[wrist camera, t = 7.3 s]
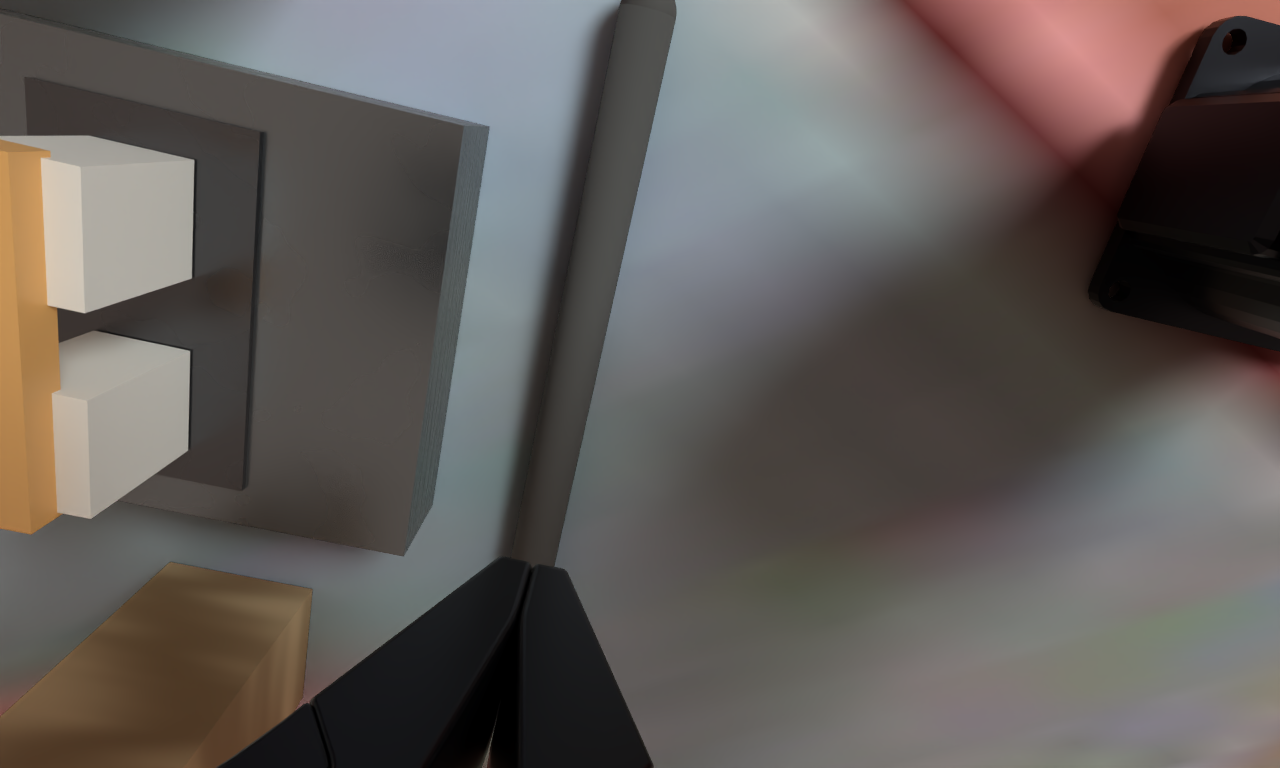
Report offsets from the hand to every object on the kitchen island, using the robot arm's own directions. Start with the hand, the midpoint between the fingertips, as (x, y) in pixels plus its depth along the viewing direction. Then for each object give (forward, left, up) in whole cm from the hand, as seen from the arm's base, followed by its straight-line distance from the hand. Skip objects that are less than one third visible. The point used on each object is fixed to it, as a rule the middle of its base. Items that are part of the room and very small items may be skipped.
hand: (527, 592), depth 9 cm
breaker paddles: (+9, 0, -7) cm, 12 cm away
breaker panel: (+9, 0, -10) cm, 13 cm away
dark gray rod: (0, 0, -10) cm, 10 cm away
